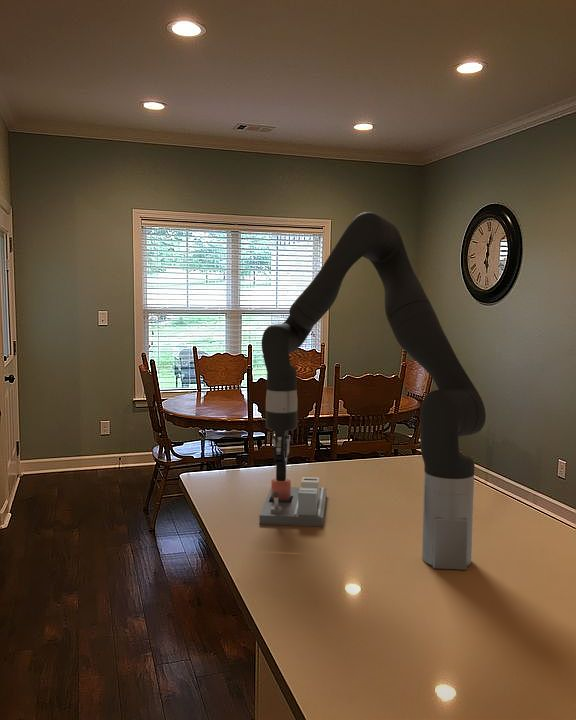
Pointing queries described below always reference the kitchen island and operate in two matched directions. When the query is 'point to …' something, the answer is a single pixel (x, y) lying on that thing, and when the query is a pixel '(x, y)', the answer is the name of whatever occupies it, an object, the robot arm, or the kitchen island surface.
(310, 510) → the slate-blue fader knob
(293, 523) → the panel
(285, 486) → the red push button
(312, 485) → the cream fader knob
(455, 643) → the kitchen island surface
